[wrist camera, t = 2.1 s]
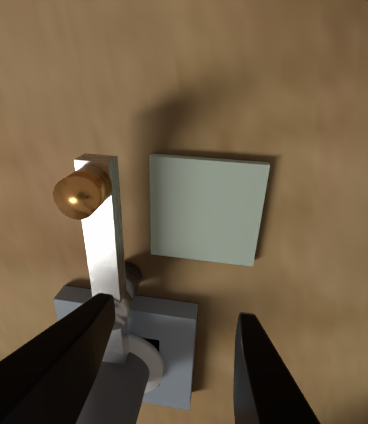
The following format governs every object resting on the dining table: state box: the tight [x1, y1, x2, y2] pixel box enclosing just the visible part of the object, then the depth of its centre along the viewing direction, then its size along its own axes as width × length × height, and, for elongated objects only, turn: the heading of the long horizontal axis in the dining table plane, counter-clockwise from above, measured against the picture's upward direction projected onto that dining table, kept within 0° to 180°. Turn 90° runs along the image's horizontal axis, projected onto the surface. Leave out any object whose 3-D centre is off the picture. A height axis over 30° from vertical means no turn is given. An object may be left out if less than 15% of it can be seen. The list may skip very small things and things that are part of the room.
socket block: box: [54, 285, 198, 410], centre depth 25 cm, size 11×11×2 cm
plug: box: [76, 333, 164, 424], centre depth 22 cm, size 6×6×9 cm
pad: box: [149, 153, 270, 266], centre depth 19 cm, size 7×7×1 cm
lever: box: [53, 154, 142, 365], centre depth 18 cm, size 3×15×6 cm, turn 178°
